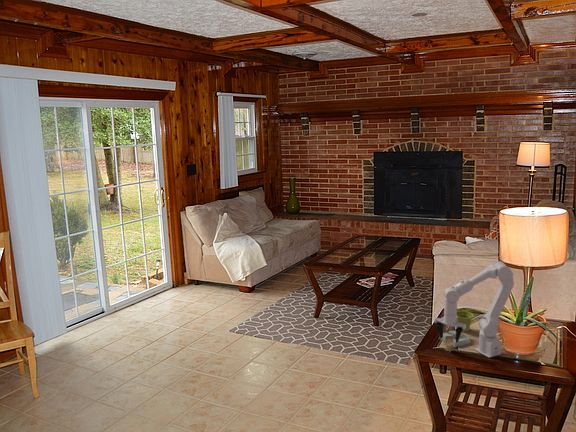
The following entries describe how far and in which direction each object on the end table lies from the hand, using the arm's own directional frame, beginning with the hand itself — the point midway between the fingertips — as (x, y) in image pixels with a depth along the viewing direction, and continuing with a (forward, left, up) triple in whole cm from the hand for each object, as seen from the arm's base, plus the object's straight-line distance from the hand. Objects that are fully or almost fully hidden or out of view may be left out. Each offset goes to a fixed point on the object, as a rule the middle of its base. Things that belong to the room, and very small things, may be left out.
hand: (449, 339), depth 248 cm
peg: (0, 0, -6) cm, 6 cm away
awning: (+13, -12, -6) cm, 18 cm away
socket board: (+7, -10, -6) cm, 14 cm away
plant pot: (+15, -23, -6) cm, 28 cm away
